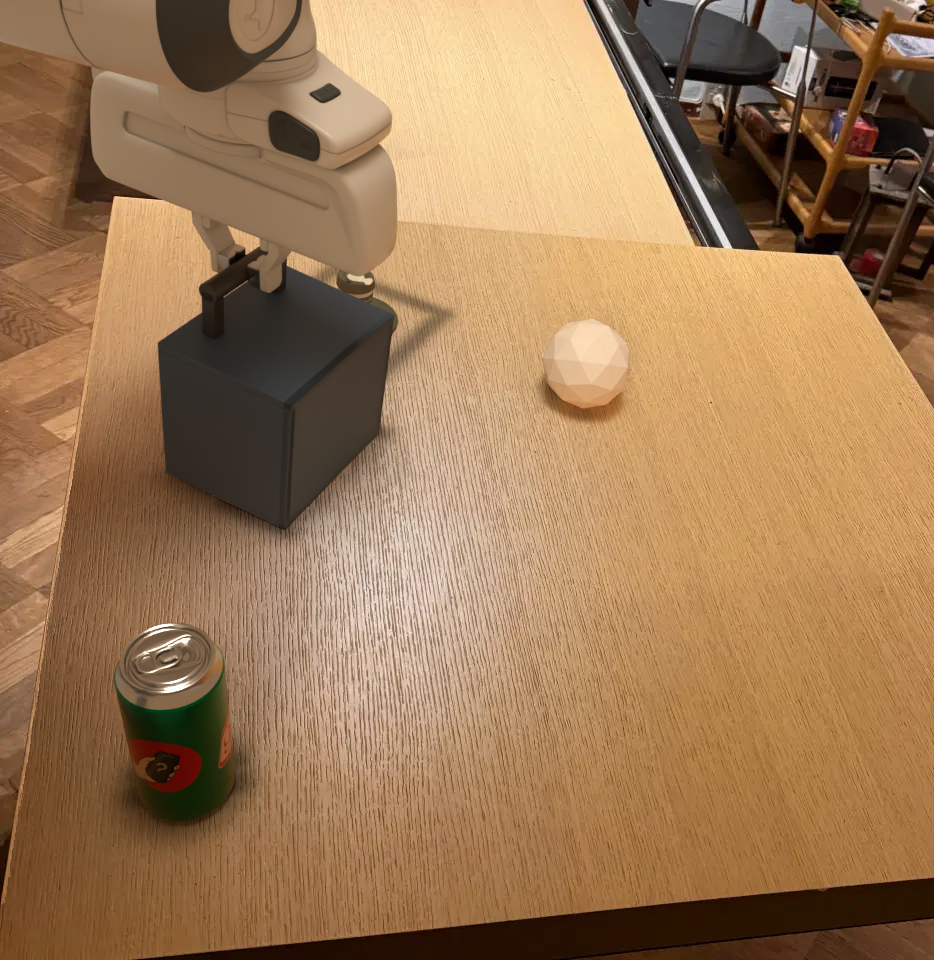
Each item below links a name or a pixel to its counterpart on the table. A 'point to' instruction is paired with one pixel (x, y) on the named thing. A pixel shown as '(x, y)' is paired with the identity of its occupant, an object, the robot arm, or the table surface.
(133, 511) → the table surface
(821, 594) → the table surface
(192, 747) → the soda can
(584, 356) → the geometric ball
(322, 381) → the handled storage box
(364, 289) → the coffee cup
